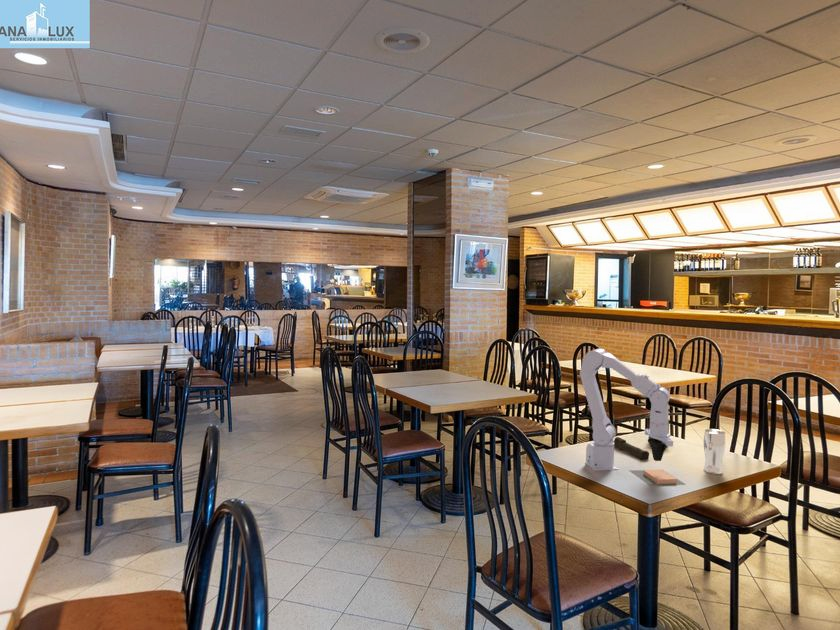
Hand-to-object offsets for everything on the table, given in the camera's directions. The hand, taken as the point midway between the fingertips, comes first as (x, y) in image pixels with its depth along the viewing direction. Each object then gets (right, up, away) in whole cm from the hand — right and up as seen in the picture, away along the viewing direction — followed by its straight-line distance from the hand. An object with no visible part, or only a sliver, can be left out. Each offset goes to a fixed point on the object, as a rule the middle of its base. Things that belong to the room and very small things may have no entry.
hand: (657, 460), depth 182 cm
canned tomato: (+20, -5, +42) cm, 46 cm away
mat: (0, -6, 0) cm, 6 cm away
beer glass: (+24, -7, +8) cm, 26 cm away
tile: (0, -5, +3) cm, 6 cm away
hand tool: (+1, -5, +28) cm, 28 cm away
